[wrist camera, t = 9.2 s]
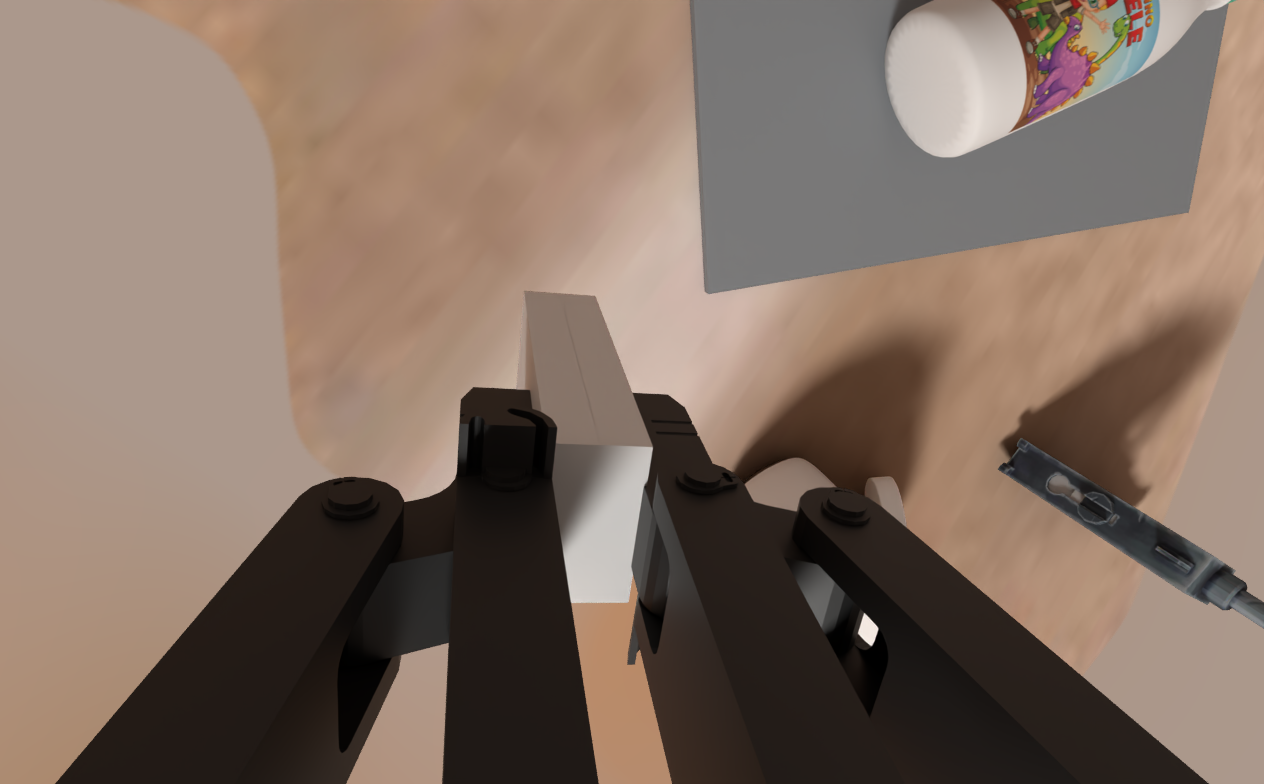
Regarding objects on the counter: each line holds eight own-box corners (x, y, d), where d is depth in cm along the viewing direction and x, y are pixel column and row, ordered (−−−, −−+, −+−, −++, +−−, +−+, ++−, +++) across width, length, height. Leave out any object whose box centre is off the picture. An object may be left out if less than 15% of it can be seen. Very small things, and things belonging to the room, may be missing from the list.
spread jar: (693, 494, 53) (769, 602, 43) (836, 393, 53) (946, 477, 43) (773, 607, 59) (857, 727, 48) (902, 515, 59) (1013, 615, 49)
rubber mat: (704, 291, 48) (708, 294, 47) (687, -59, 41) (690, -60, 40) (1181, 210, 55) (1188, 212, 55) (1238, -99, 48) (1248, -100, 47)
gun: (1297, 659, 54) (1244, 633, 45) (1075, 513, 67) (996, 468, 57) (1325, 627, 54) (1277, 594, 44) (1096, 486, 66) (1020, 436, 57)
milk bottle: (863, 36, 45) (1160, -89, 48) (908, 171, 47) (1194, 42, 49) (943, -12, 38) (1291, -158, 40) (994, 150, 39) (1326, -1, 42)
